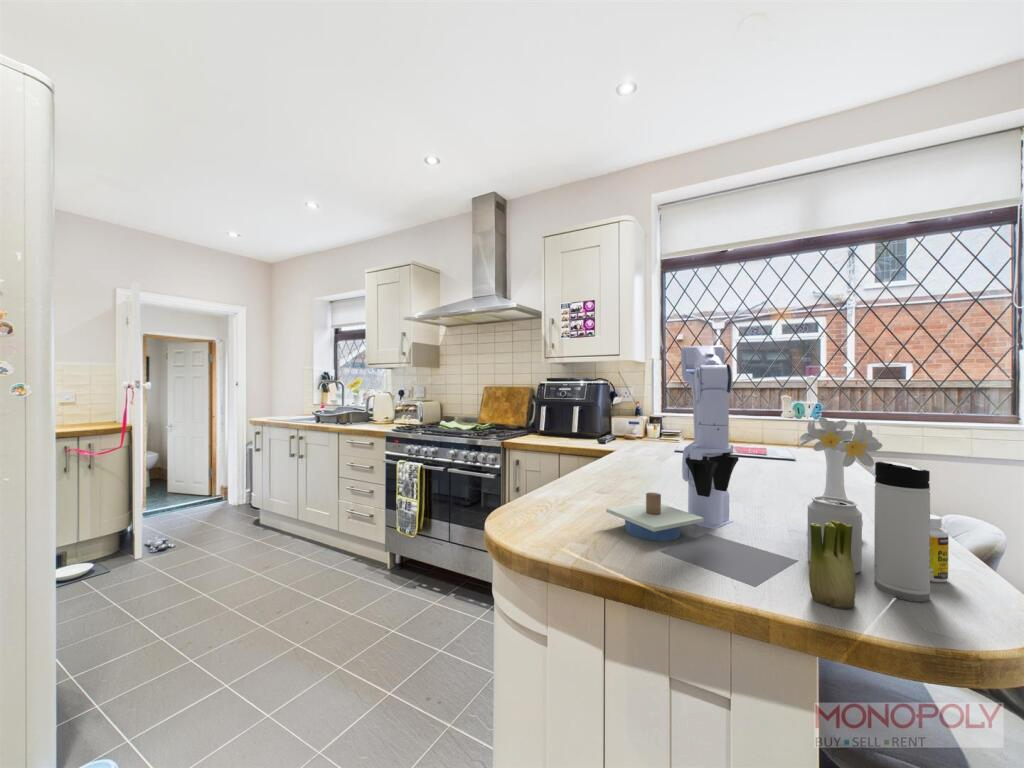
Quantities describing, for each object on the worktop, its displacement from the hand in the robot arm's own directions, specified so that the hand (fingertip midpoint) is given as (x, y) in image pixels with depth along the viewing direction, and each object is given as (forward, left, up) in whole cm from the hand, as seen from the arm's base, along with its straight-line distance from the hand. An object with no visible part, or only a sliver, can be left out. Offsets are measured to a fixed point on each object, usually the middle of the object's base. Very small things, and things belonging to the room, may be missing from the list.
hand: (712, 493), depth 82 cm
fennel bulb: (+8, +22, -11) cm, 25 cm away
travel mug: (-5, +27, -11) cm, 29 cm away
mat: (+4, +5, -10) cm, 12 cm away
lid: (+4, -11, -7) cm, 13 cm away
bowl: (+4, -11, -11) cm, 16 cm away
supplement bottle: (-16, +28, -11) cm, 34 cm away
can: (-7, +18, -11) cm, 22 cm away
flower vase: (-28, +13, -11) cm, 33 cm away
